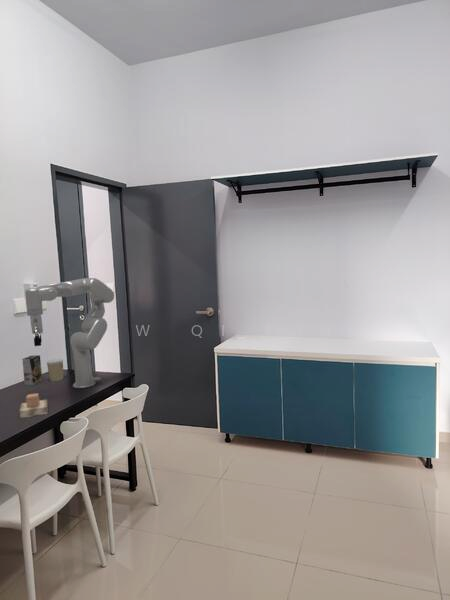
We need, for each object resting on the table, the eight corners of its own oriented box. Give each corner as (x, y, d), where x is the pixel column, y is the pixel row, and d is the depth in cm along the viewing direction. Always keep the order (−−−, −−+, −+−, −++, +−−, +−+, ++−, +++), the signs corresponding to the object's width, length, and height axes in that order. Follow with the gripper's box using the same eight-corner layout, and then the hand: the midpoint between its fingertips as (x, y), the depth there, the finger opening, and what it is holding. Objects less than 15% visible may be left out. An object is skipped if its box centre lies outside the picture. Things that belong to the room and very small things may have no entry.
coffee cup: (67, 378, 265) (65, 359, 264) (53, 382, 258) (51, 363, 257) (59, 376, 271) (58, 357, 270) (45, 380, 264) (43, 361, 263)
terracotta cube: (39, 402, 213) (38, 393, 212) (38, 406, 208) (37, 396, 207) (28, 404, 211) (27, 394, 211) (27, 407, 206) (25, 397, 206)
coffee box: (34, 385, 255) (31, 358, 253) (24, 385, 256) (21, 358, 254) (43, 380, 264) (40, 355, 262) (33, 380, 265) (31, 355, 263)
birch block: (47, 406, 218) (47, 399, 218) (47, 414, 207) (46, 406, 207) (21, 411, 214) (21, 403, 213) (20, 419, 202) (19, 411, 202)
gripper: (42, 313, 216) (45, 346, 218) (43, 309, 232) (46, 340, 234) (26, 314, 213) (29, 348, 215) (27, 310, 229) (31, 342, 231)
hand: (38, 344), depth 225 cm, fingers open, 9 cm apart
